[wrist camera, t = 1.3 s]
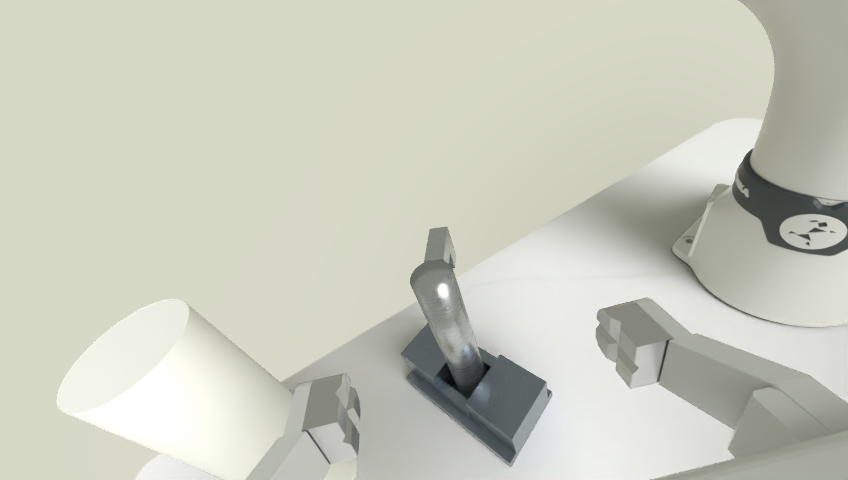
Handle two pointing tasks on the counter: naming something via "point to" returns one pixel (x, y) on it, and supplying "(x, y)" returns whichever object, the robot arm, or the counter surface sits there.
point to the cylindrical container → (182, 392)
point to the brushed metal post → (448, 311)
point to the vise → (481, 395)
